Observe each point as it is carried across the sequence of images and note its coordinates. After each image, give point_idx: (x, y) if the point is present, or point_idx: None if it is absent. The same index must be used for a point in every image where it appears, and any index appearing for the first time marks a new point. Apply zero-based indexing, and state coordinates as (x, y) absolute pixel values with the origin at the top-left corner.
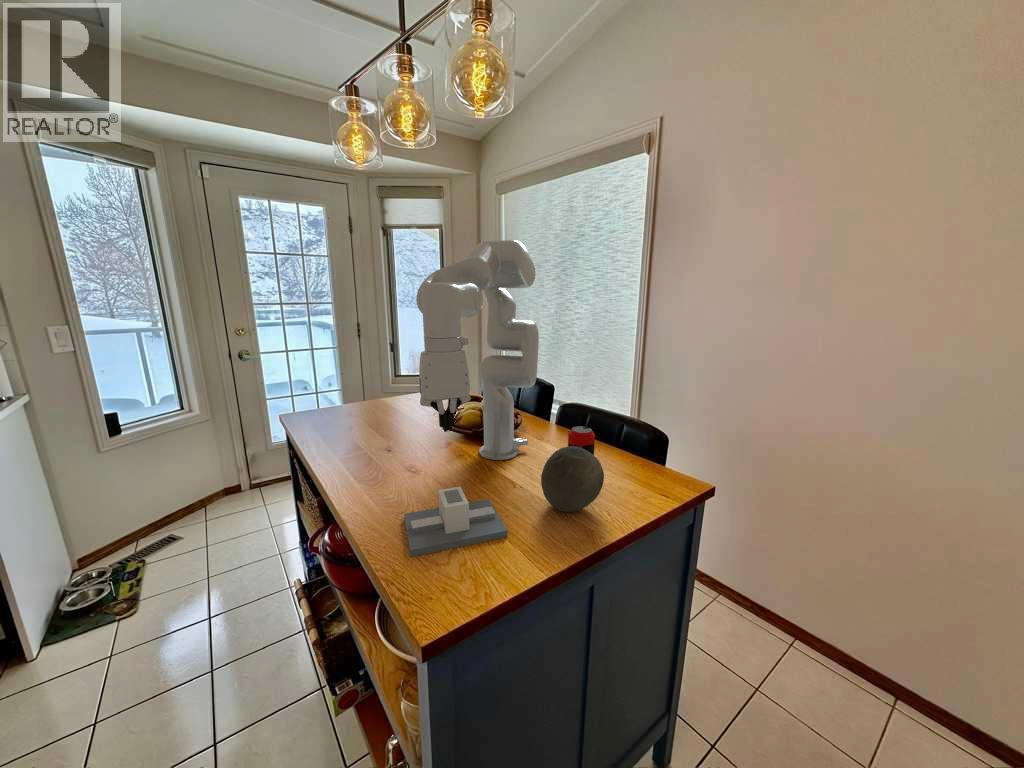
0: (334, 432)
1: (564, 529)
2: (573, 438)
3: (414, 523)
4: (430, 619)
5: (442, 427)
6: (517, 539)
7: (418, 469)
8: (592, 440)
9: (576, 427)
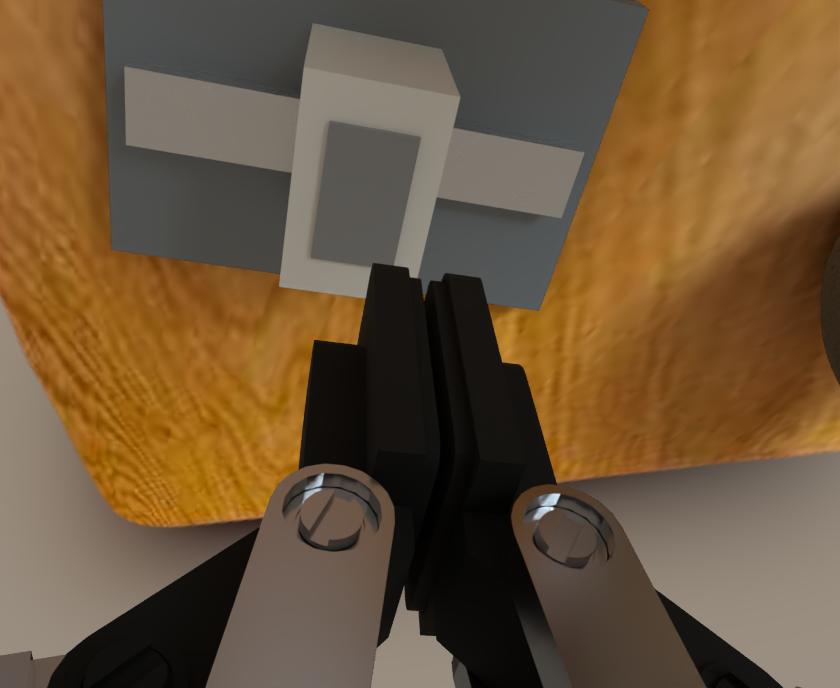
0: None
1: (739, 348)
2: None
3: (142, 105)
4: (153, 486)
5: (367, 296)
6: (554, 322)
7: None
8: None
9: None
